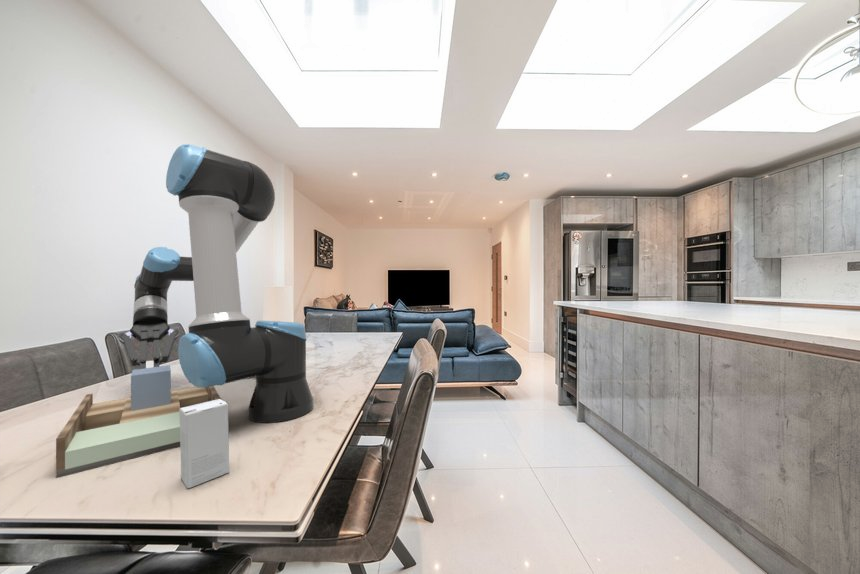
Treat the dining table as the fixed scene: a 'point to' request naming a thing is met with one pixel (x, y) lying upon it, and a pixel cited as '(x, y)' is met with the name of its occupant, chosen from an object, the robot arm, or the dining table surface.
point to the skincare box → (204, 442)
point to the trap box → (119, 413)
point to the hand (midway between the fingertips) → (149, 385)
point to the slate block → (150, 387)
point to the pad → (122, 439)
